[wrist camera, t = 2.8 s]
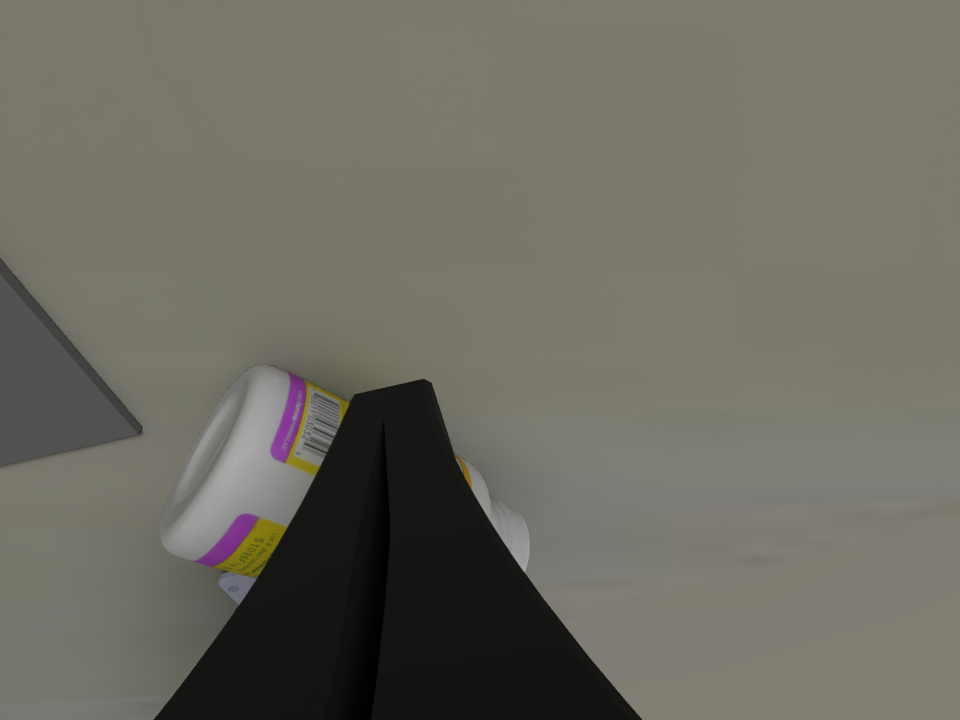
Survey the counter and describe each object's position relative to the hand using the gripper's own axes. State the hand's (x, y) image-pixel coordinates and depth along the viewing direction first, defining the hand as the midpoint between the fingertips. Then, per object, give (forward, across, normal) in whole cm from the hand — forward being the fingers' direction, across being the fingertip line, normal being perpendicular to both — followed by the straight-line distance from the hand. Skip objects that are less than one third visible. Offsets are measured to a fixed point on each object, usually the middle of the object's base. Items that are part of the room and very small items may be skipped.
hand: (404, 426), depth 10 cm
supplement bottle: (+6, +8, +5) cm, 11 cm away
